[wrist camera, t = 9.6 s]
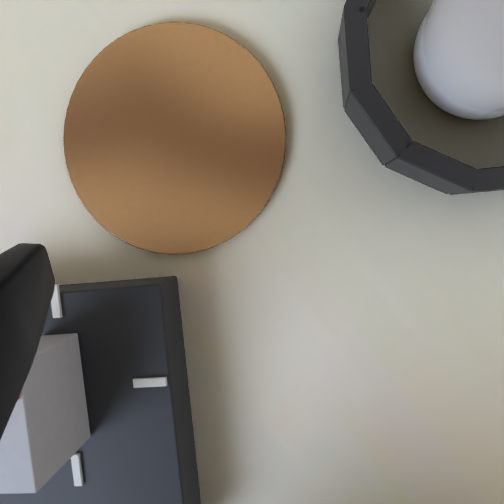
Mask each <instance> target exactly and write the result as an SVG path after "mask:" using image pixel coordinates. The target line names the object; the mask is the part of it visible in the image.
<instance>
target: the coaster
mask: <svg viewBox="0 0 504 504" xmlns="http://www.w3.org/2000/svg"><path fill="white" fill-rule="evenodd" d="M285 149H286V127H285V121H284V114H283V110H282V107H281V103H280V100H279V97H278V94H277V92H276V90H275V87H274V85H273V83H272V81H271V79H270V78H269V76H268V75H267V73H266V71H265V70H264V68H263V67H262V66H261V65H260V63H259V62H258V61H257V60H256V58H255V57H254V56H253V55H252V54H251V53H250V52H248V51H247V50H246V49H245V48H244V47H243V46H242V45H240V44H239V43H237V42H236V41H235V40H233V39H232V38H230V37H228V36H226V35H224V34H223V33H221V32H219V31H216V30H213V29H211V28H208V27H205V26H201V25H196V24H191V23H181V22H169V23H158V24H154V25H149V26H145V27H142V28H139V29H137V30H134V31H131V32H129V33H127V34H125V35H124V36H122V37H120V38H118V39H117V40H115V41H114V42H112V43H111V44H110V45H108V46H107V47H106V48H104V49H103V50H102V51H101V52H100V53H99V54H98V55H97V56H96V57H95V58H94V59H93V61H92V62H91V63H90V64H89V65H88V67H87V68H86V69H85V71H84V72H83V74H82V76H81V77H80V79H79V80H78V82H77V84H76V87H75V89H74V91H73V93H72V96H71V99H70V102H69V105H68V108H67V113H66V118H65V124H64V153H65V158H66V164H67V169H68V172H69V175H70V178H71V181H72V184H73V186H74V188H75V190H76V192H77V195H78V196H79V198H80V199H81V201H82V203H83V204H84V206H85V207H86V209H87V210H88V211H89V212H90V214H91V215H92V216H93V217H94V219H95V220H96V221H97V222H99V223H100V224H101V225H102V226H103V227H104V228H105V229H106V230H107V231H109V232H110V233H111V234H113V235H114V236H116V237H117V238H119V239H121V240H122V241H124V242H126V243H128V244H130V245H133V246H135V247H138V248H140V249H143V250H147V251H151V252H155V253H164V254H186V253H193V252H198V251H202V250H205V249H209V248H212V247H214V246H216V245H219V244H221V243H223V242H225V241H227V240H229V239H230V238H232V237H234V236H235V235H237V234H238V233H240V232H241V231H242V230H243V229H245V228H246V227H247V226H248V225H249V224H250V223H251V222H252V221H253V220H254V219H255V218H256V217H257V216H258V215H259V214H260V212H261V211H262V210H263V208H264V207H265V205H266V204H267V203H268V201H269V199H270V197H271V196H272V194H273V192H274V190H275V188H276V185H277V183H278V180H279V178H280V175H281V171H282V167H283V163H284V158H285Z"/></svg>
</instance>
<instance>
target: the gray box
mask: <svg viewBox="0 0 504 504" xmlns="http://www.w3.org/2000/svg"><path fill="white" fill-rule="evenodd" d="M90 436H91V435H90V427H89V419H88V411H87V403H86V396H85V388H84V380H83V372H82V364H81V356H80V348H79V340H78V334H77V333H71V334H57V335H43V336H41V338H40V342H39V345H38V349H37V352H36V355H35V358H34V361H33V364H32V366H31V369H30V371H29V374H28V376H27V379H26V381H25V383H24V386H23V388H22V390H21V393H20V395H19V398H18V400H17V402H16V405H15V407H14V409H13V412H12V414H11V416H10V419H9V421H8V423H7V426H6V428H5V431H4V433H3V435H2V438H1V440H0V494H20V493H37V492H38V491H39V490H40V489H41V488H42V487H43V486H44V485H45V484H46V483H47V482H48V481H49V480H50V479H51V478H52V477H53V476H54V474H55V473H56V472H57V471H58V470H59V469H60V468H61V467H62V466H63V465H64V464H65V463H66V462H67V461H68V460H69V459H70V458H71V457H72V456H73V455H74V454H75V453H76V452H77V451H78V450H79V448H80V447H81V446H82V445H83V444H84V443H85V442H86V441H87V440H88V439H89V438H90Z"/></svg>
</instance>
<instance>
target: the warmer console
mask: <svg viewBox="0 0 504 504" xmlns="http://www.w3.org/2000/svg"><path fill="white" fill-rule="evenodd" d="M71 333H77V334H78V340H79V348H80V356H81V364H82V372H83V380H84V388H85V396H86V403H87V411H88V419H89V427H90V435H91V436H90V438H89V439H88V440H87V441H86V442H85V443H84V444H83V445H82V446H81V447H80V448H79V450H78V451H77V452H76V453H75V454H74V455H73V456H72V457H71V458H70V459H69V460H68V461H67V462H66V463H65V464H64V465H63V466H62V467H61V468H60V469H59V470H58V471H57V472H56V473H55V474H54V476H53V477H52V478H51V479H50V480H49V481H48V482H47V483H46V484H45V485H44V486H43V487H42V488H41V489H40V490H39V491H38V492H37V493H20V494H0V504H201V500H200V491H199V481H198V472H197V463H196V453H195V444H194V435H193V425H192V416H191V406H190V397H189V388H188V378H187V369H186V360H185V350H184V341H183V331H182V322H181V313H180V303H179V294H178V284H177V277H175V276H172V277H159V278H146V279H134V280H121V281H109V282H96V283H83V284H71V285H59V284H55V288H54V293H53V297H52V300H51V304H50V307H49V310H48V314H47V317H46V321H45V324H44V328H43V331H42V335H41V336H43V335H57V334H71Z"/></svg>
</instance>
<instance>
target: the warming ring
mask: <svg viewBox="0 0 504 504" xmlns="http://www.w3.org/2000/svg"><path fill="white" fill-rule="evenodd" d="M375 2H376V0H346V3H345V5H344V9H343V15H342V21H341V26H340V32H339V38H338V45H339V58H340V71H341V84H342V97H343V107H344V108H345V109H344V110H345V112H346V113H347V115H348V116H349V118H350V119H351V121H352V122H353V123H354V125H355V126H356V128H357V129H358V131H359V132H360V133H361V135H362V136H363V138H364V139H365V141H366V142H367V143H368V145H369V146H370V148H371V149H372V150H373V152H374V153H375V155H376V156H377V158H378V159H379V160H380V162H381V163H382V165H385V167H387V168H389V169H391V170H394V171H396V172H398V173H400V174H403V175H405V176H407V177H409V178H412V179H414V180H416V181H418V182H421V183H423V184H425V185H427V186H430V187H432V188H434V189H436V190H438V191H441V192H443V193H445V194H450V195H453V194H464V193H474V192H485V191H496V190H504V166H502V167H492V168H483V169H476V168H474V167H471V166H469V165H467V164H464V163H462V162H460V161H458V160H455V159H453V158H451V157H449V156H446V155H444V154H442V153H439V152H437V151H435V150H433V149H430V148H428V147H426V146H424V145H421V144H419V143H417V142H414V141H412V140H411V138H410V137H409V135H408V134H407V133H406V131H405V130H404V128H403V127H402V125H401V124H400V123H399V121H398V120H397V118H396V117H395V115H394V114H393V113H392V111H391V110H390V108H389V107H388V105H387V104H386V103H385V101H384V100H383V98H382V97H381V95H380V94H379V93H378V91H377V90H376V88H375V87H374V85H373V84H372V80H371V66H370V52H369V38H368V24H367V19H368V17H369V15H370V13H371V10H372V8H373V6H374V4H375Z"/></svg>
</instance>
